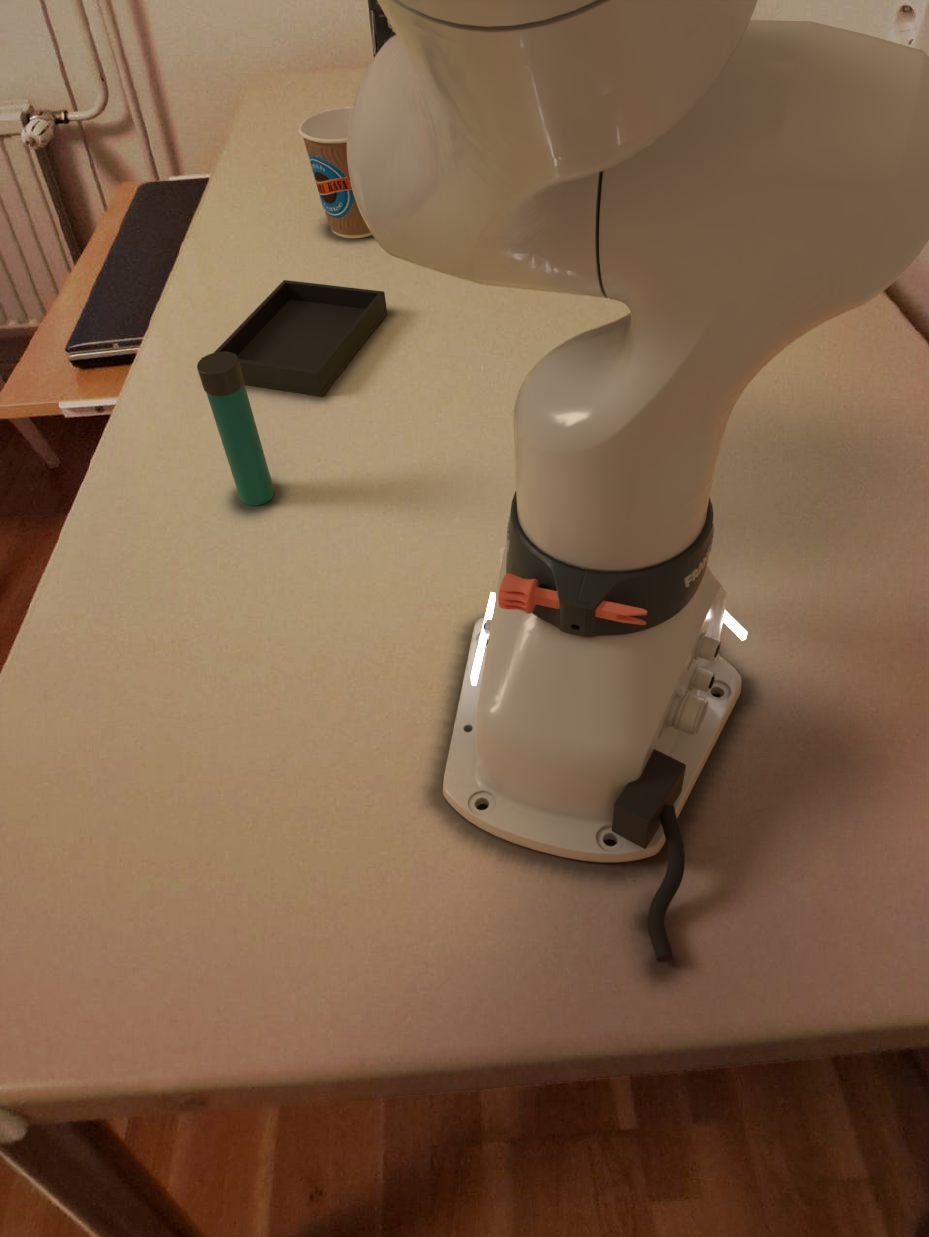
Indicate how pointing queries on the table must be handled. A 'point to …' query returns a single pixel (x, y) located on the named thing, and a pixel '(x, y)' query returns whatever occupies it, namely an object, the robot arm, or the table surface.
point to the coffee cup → (333, 170)
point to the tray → (305, 335)
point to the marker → (236, 426)
